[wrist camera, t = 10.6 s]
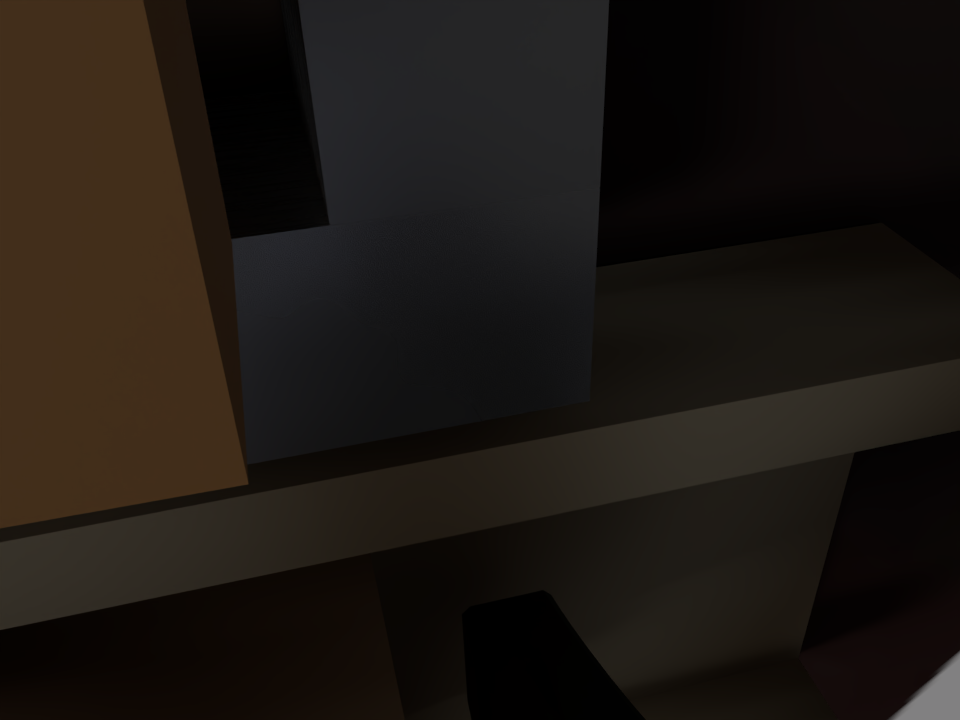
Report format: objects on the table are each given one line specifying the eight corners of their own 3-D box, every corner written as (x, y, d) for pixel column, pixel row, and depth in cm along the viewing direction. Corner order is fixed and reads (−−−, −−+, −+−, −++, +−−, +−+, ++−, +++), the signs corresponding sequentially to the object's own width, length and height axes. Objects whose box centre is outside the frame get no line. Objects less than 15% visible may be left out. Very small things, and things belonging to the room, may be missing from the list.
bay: (-50, 872, 14) (-132, 1251, 11) (-388, 423, 9) (-768, 873, 5) (771, 666, 17) (924, 915, 13) (881, 222, 11) (1180, 439, 8)
